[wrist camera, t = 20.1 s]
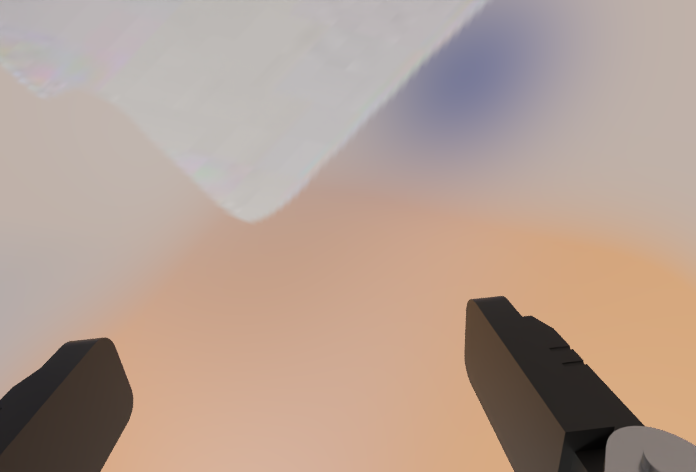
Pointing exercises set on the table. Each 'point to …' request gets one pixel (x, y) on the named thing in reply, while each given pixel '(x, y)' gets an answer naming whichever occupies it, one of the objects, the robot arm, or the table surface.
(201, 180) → the table surface
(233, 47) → the table surface
